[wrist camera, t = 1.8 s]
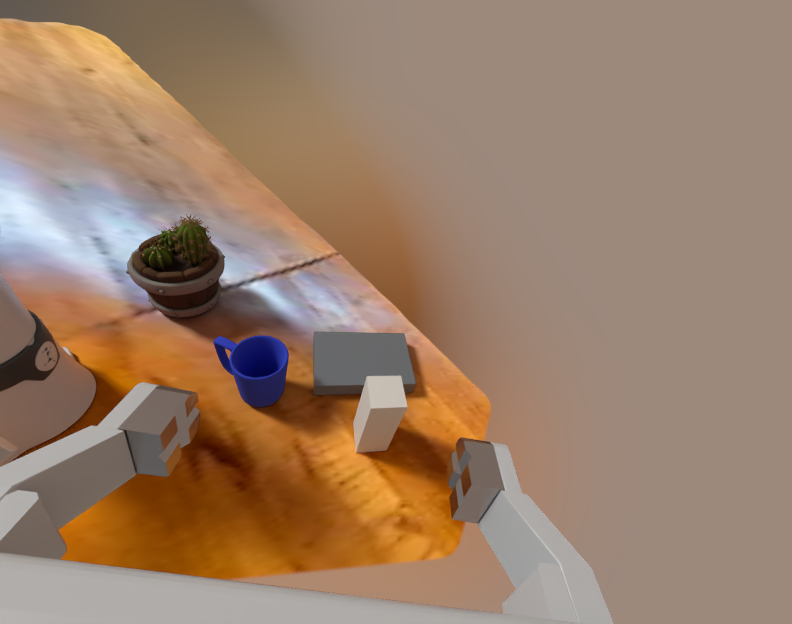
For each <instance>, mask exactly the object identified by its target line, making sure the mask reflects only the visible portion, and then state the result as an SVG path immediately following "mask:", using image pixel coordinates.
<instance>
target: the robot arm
mask: <svg viewBox="0 0 792 624" xmlns="http://www.w3.org/2000/svg"><path fill="white" fill-rule="evenodd" d="M95 392H96V381H95V378H94V376H93V375H92V373H91V372H90V371H89V370H88V369H86V368H85V367H83V366H82V365H81V364H79V363H78V362H77V361H76V360H75V358H74V356H73V354H72V353H71V352H70V351H69V350H68V349H67V348H65V347H61V346H60V345H59V344H58V343H57V342H56V341H55V340H54V339H53V337H52V335H51V333H50V332H49V331H48V329H47V328H46V327H45V325H44V324H43V322H42V320H41V319H39V318H38V317H37V316H36V315H35V314H34V313H33V312H31V311H29V310H27V309H26V307H25V306H24V305H23V303H22V302H21V301H20V299H19V298H18V296H17V295H16V294H15V292H14V291H13V290H12V288H11V287H10V285H9V284H8V283H7V281H6V280H5V278H4V277H3V275H2V274H1V272H0V624H613V621H612V618H611V616H610V613H609V611H608V609H607V606H606V603H605V601H604V598H603V596H602V594H601V591H600V588H599V586H598V583H597V581H596V578H595V576H594V573H593V571H592V569H591V567H590V566H589V565H588V564H587V563H586V562H585V560H583V558H582V557H581V556H580V555H579V554H578V552H577V551H576V550H575V549H574V548H573V547H572V545H571V544H570V543H569V542H568V541H567V540H566V539H565V537H564V536H563V535H562V534H561V533H560V532H559V531H558V529H557V528H556V527H555V526H554V525H553V524H552V523H551V521H550V520H549V519H548V518H547V517H546V516H545V515H544V513H543V512H542V511H541V510H540V509H539V508H538V507H537V505H536V504H535V503H534V502H533V501H532V500H531V499H530V497H529V496H528V495H527V494H523V493H522V490H521V487H520V484H519V481H518V478H517V474H516V471H515V468H514V465H513V461H512V458H511V455H510V451H509V448H508V447H507V446H506V445H503V444H497V443H490V442H487V441H481V440H474V439H468V438H462V437H461V438H460V439H458V441H457V443H456V450H457V451H455V452H453V453H451V456H450V458H449V460H448V466H447V482H448V485H449V486H450V487H451V489H452V490H453V491H452V493H451V495H450V497H449V500H450V508H451V516H452V519H455V520H460V521H466V522H472V523H477V524H478V526H479V528H480V529H481V531H482V533H483V535H484V536H485V538H486V539H487V541H488V543H489V544H490V546H491V548H492V549H493V551H494V553H495V555H496V556H497V558H498V560H499V561H500V563H501V564H502V566H503V568H504V570H505V571H506V573H507V575H508V576H509V578H510V580H511V581H512V583H513V585H514V586H515V588H516V589H515V590H514V591H513V592H512V593H511V594H510V595H509V596H508V598H507V599H506V600H505V601H504V602H503V604H502V606H503V611H504V614H502V613H494V612H485V611H477V610H469V609H461V608H453V607H444V606H437V605H428V604H420V603H412V602H404V601H395V600H387V599H379V598H371V597H363V596H354V595H345V594H338V593H330V592H322V591H313V590H305V589H296V588H289V587H280V586H273V585H264V584H256V583H248V582H240V581H231V580H223V579H215V578H207V577H199V576H190V575H182V574H174V573H166V572H157V571H149V570H141V569H133V568H125V567H116V566H108V565H100V564H92V563H83V562H75V561H67V560H60V559H61V558H62V556H63V555H64V554H65V552H66V551H67V546H66V543H65V541H64V539H63V538H62V536H61V534H60V532H59V531H58V529H60V528H61V527H63V526H64V525H66V524H67V523H68V522H70V521H71V520H73V519H74V518H76V517H77V516H78V515H80V514H81V513H83V512H84V511H86V510H87V509H88V508H90V507H91V506H93V505H94V504H96V503H97V502H98V501H100V500H101V499H103V498H104V497H106V496H107V495H108V494H110V493H111V492H113V491H114V490H116V489H117V488H118V487H120V486H121V485H123V484H124V483H126V482H127V481H128V480H130V479H131V478H133V477H134V476H136V473H139V474H147V475H156V476H164V477H169V475H170V474H171V472H172V471H173V469H174V468H175V466H176V464H177V463H178V461H179V460H180V458H181V457H182V454H181V448H182V447H184V446H186V445H187V444H189V443H190V442H191V441H192V439H193V437H194V436H195V434H196V431H197V429H198V426H199V422H200V411H199V410H198V409H197V408H196V407H195V406H196V404H197V403H198V401H199V400H198V394H197V393H196V392H191V391H186V390H181V389H176V388H171V387H166V386H161V385H155V384H150V383H144V382H142V383H140V384H138V385H136V386H135V387H134V388H133V389H132V390H131V391H130V392H129V393H128V394H127V395H126V396H125V397H124V398H123V400H122V401H121V402H120V403H119V404H118V405H117V406H116V407H115V408H114V409H113V410H112V411H111V412H110V413H109V414H108V415H107V416H106V417H105V418H104V419H103V420H102V421H101V422H100V424H99V425H98V426H92V425H91V426H89V427H87V428H84V429H82V430H80V431H78V432H76V433H74V434H71V435H69V436H67V437H65V438H63V439H60V440H58V441H56V442H54V443H52V444H49V445H47V446H45V447H43V448H41V449H38V450H36V451H34V452H32V453H30V454H28V455H25V456H23V457H21V458H19V459H17V460H14V459H15V458H17V457H18V456H19V455H21V454H22V453H23V452H25V451H26V450H28V449H30V448H32V447H34V446H36V445H38V444H41V443H43V442H45V441H47V440H49V439H51V438H53V437H55V436H57V435H58V434H60V433H61V432H63V431H64V430H66V429H67V428H69V427H70V426H71V425H73V424H74V423H75V422H76V421H77V420H78V419H79V418H80V417H81V416H82V415H83V414H84V413H85V412H86V410H87V409H88V408H89V406H90V404H91V403H92V401H93V399H94V396H95ZM13 460H14V461H13ZM11 461H12V462H11Z"/></svg>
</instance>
